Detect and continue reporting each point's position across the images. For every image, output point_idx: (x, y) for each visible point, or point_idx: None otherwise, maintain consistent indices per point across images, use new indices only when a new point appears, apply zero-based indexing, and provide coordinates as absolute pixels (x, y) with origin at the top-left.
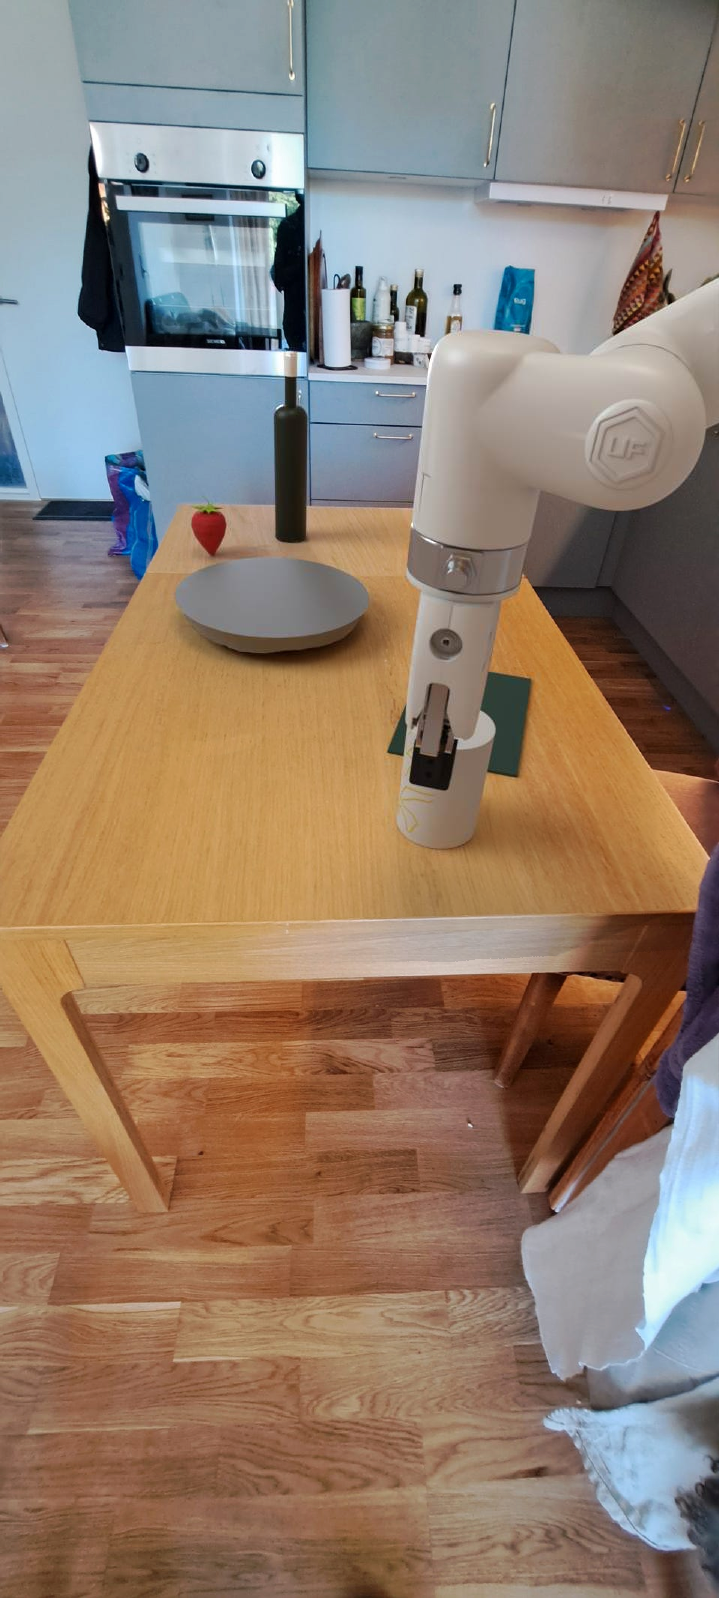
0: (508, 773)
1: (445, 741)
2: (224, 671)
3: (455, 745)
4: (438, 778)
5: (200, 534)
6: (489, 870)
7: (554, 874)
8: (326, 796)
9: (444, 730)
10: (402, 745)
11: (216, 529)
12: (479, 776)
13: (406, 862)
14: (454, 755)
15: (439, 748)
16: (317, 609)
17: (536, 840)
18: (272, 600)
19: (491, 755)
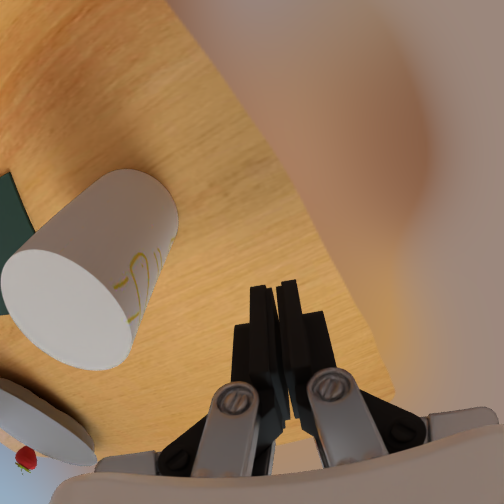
0: (11, 182)
1: (415, 428)
2: (103, 423)
3: (268, 366)
4: (324, 320)
5: (34, 461)
6: (169, 124)
7: (131, 52)
8: (172, 327)
9: (267, 418)
10: None
11: (25, 458)
12: (91, 217)
13: (215, 219)
14: (308, 351)
15: (437, 418)
16: (12, 407)
17: (85, 98)
18: (34, 430)
19: (2, 212)
